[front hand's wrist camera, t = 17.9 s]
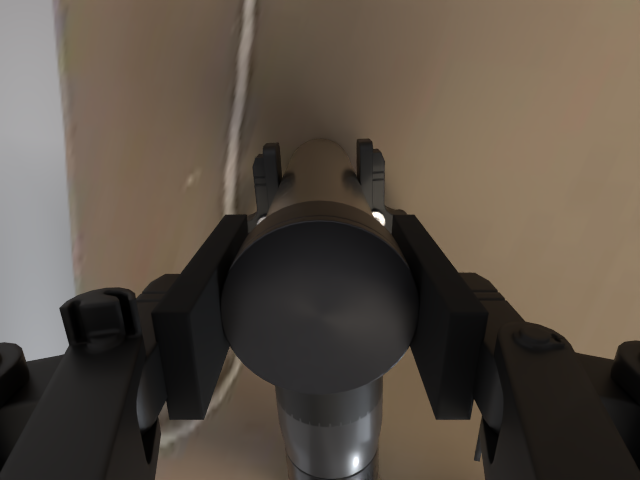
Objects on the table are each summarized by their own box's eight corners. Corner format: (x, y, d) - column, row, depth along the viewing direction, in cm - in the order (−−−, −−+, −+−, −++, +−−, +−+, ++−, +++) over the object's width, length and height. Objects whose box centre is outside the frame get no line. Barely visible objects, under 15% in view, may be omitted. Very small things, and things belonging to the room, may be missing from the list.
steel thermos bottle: (292, 134, 28) (244, 211, 10) (355, 143, 28) (418, 235, 10) (285, 196, 29) (232, 358, 12) (345, 204, 30) (383, 375, 12)
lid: (240, 354, 13) (228, 395, 11) (226, 200, 11) (209, 220, 9) (399, 354, 13) (412, 394, 11) (412, 199, 11) (429, 219, 9)
